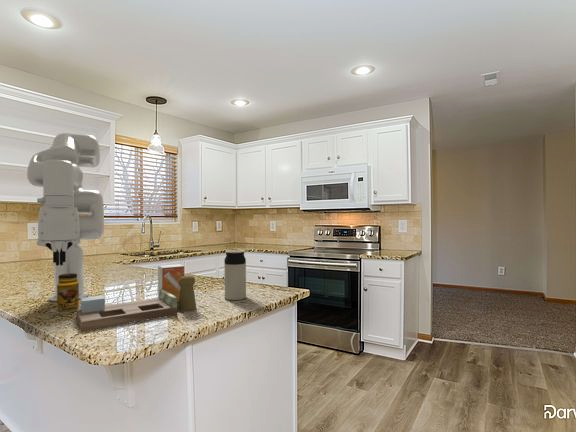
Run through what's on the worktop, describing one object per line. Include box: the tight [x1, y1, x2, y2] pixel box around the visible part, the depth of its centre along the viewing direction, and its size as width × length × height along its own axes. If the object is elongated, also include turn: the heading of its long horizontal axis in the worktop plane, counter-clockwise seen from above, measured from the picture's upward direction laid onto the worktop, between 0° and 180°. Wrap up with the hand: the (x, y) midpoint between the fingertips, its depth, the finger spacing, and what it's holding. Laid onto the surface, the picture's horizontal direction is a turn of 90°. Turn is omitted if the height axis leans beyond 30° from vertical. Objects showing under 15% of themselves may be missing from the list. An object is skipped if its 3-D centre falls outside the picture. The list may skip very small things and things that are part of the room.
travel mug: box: [224, 249, 247, 301], centre depth 132 cm, size 8×8×18 cm
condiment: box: [47, 273, 81, 315], centre depth 117 cm, size 7×8×12 cm
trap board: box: [76, 289, 178, 332], centre depth 109 cm, size 16×26×6 cm, turn 125°
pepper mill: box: [177, 275, 197, 312], centre depth 117 cm, size 6×6×11 cm
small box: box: [157, 263, 185, 303], centre depth 128 cm, size 8×6×13 cm
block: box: [80, 295, 106, 313], centre depth 108 cm, size 5×6×4 cm
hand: (59, 264), depth 103 cm, fingers closed
